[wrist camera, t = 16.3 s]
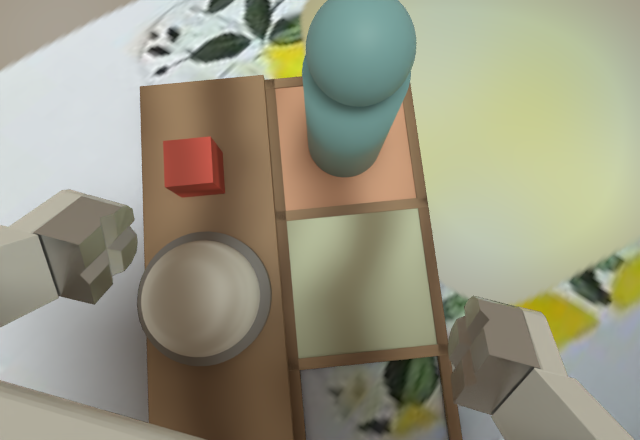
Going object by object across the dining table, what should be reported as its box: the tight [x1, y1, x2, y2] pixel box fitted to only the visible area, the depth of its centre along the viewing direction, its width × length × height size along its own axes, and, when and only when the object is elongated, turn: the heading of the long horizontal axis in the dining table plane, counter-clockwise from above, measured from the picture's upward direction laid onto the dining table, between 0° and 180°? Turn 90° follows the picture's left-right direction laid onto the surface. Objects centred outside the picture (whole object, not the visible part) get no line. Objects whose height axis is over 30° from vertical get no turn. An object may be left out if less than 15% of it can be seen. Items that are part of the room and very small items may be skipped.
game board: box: [137, 75, 462, 440], centre depth 21 cm, size 16×26×6 cm, turn 6°
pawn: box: [302, 0, 416, 177], centre depth 18 cm, size 4×4×12 cm
